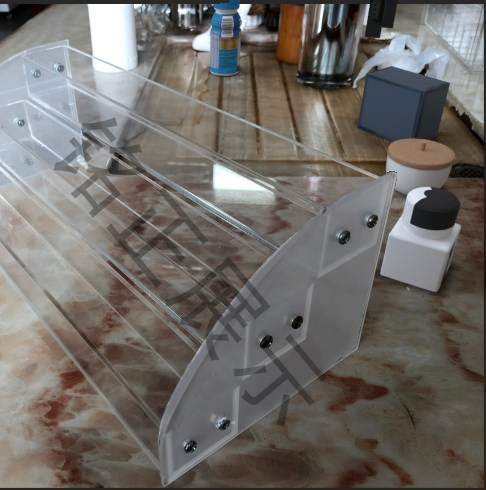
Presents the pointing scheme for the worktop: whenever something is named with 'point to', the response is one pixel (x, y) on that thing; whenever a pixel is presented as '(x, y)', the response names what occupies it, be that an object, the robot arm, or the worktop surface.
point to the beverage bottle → (225, 39)
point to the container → (423, 239)
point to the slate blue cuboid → (402, 104)
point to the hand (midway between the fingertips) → (379, 32)
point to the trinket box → (419, 163)
